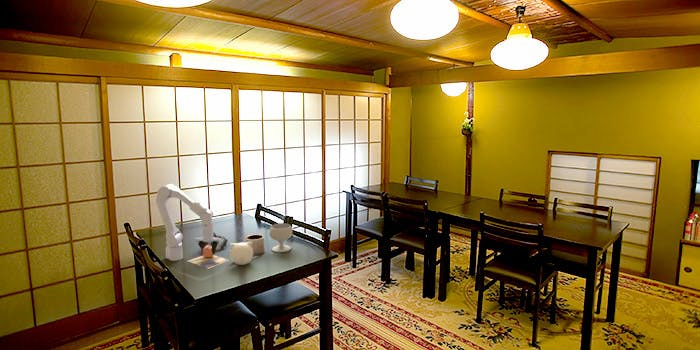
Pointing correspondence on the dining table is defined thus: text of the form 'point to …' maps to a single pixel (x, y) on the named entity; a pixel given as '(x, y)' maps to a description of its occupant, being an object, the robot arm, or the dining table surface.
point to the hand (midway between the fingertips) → (209, 253)
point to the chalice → (280, 236)
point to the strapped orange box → (207, 251)
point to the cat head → (241, 253)
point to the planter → (256, 243)
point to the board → (208, 261)
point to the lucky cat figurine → (219, 243)
